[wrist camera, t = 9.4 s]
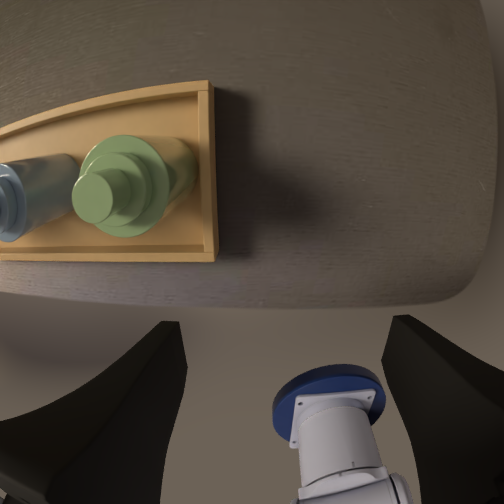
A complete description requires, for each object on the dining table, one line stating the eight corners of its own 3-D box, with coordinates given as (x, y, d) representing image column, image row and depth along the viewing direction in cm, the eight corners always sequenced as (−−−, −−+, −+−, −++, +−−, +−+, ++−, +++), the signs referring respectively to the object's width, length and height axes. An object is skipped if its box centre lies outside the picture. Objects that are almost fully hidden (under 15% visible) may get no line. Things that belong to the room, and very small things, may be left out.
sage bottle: (200, 206, 18) (155, 258, 10) (132, 209, 18) (56, 258, 10) (197, 132, 16) (144, 126, 8) (127, 139, 16) (40, 146, 8)
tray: (219, 250, 19) (215, 262, 17) (-10, 252, 20) (-24, 260, 18) (214, 86, 16) (208, 79, 14) (-25, 143, 16) (-40, 146, 14)
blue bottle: (87, 213, 18) (4, 259, 10) (41, 216, 18) (-39, 258, 10) (81, 148, 16) (-12, 163, 9) (35, 158, 17) (-53, 178, 9)
